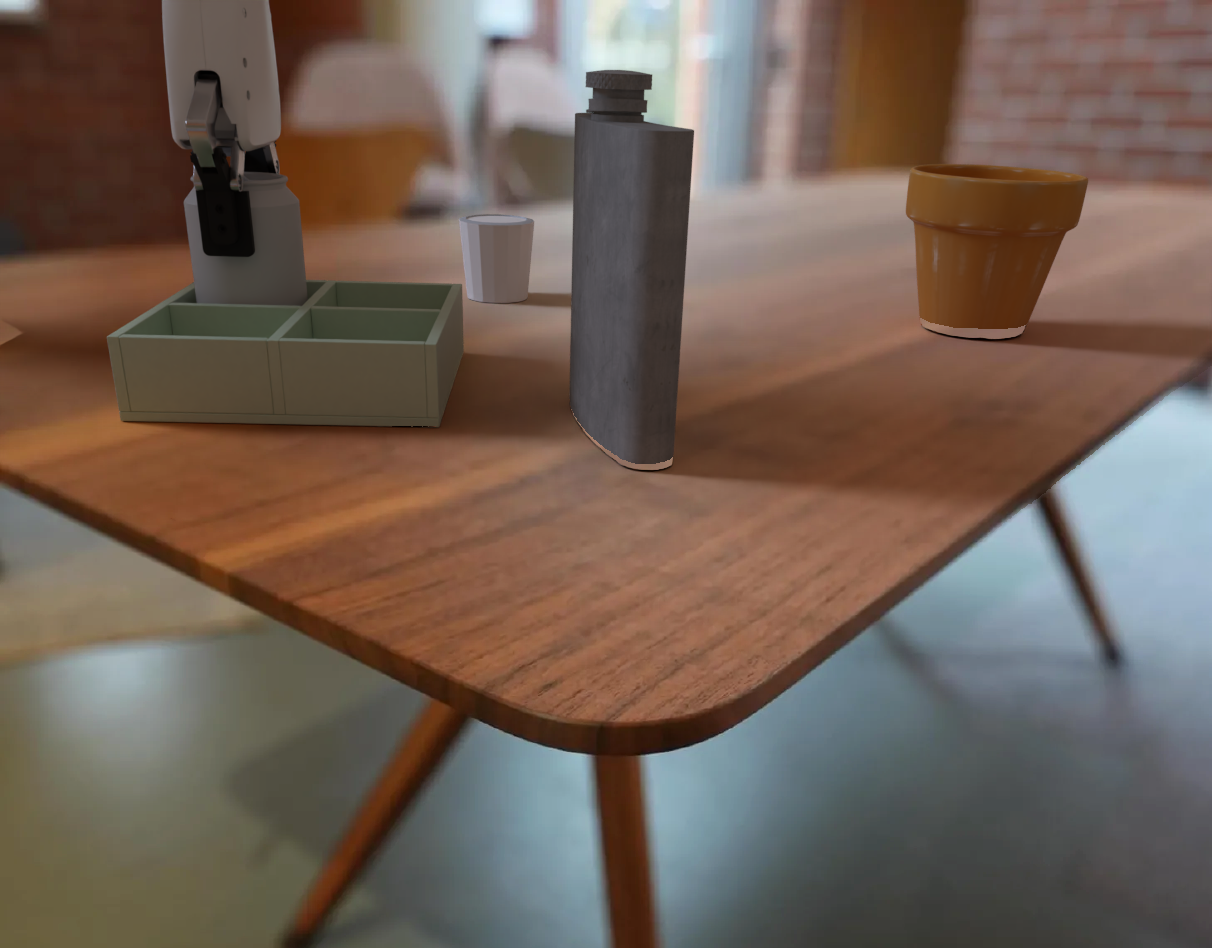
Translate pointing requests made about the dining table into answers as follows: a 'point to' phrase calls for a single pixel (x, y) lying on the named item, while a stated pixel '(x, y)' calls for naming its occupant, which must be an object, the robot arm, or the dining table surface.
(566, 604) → the dining table surface
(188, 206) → the can
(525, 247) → the shot glass
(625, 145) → the hip flask
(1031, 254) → the flower pot
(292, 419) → the compartment tray
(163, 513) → the dining table surface
